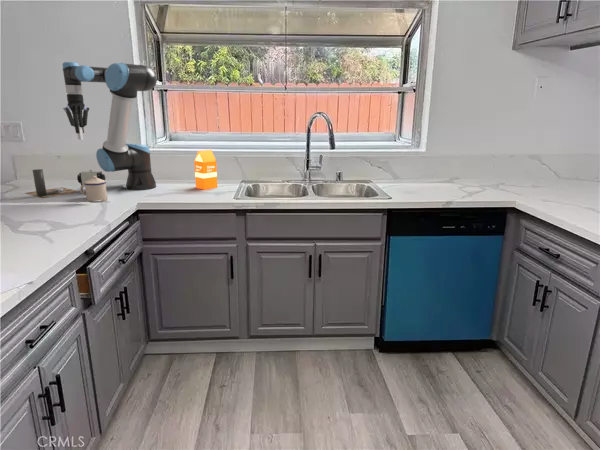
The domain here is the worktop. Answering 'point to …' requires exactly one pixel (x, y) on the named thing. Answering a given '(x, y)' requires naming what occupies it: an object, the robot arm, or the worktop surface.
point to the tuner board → (66, 191)
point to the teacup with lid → (95, 189)
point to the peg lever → (42, 184)
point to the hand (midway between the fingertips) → (80, 139)
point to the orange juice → (205, 170)
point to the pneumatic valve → (89, 176)
